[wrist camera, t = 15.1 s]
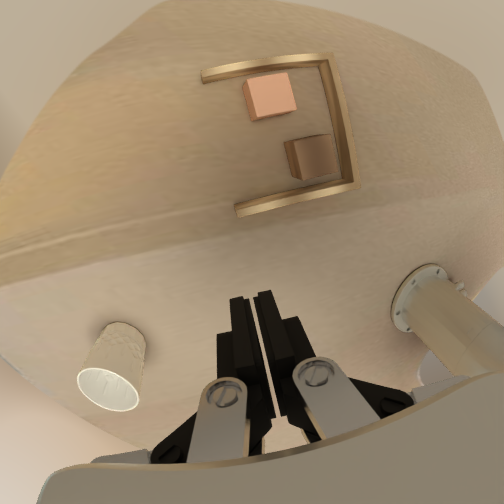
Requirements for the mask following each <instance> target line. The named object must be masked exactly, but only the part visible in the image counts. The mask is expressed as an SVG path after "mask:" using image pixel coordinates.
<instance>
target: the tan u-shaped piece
mask: <svg viewBox="0 0 504 504" xmlns="http://www.w3.org/2000/svg"><path fill="white" fill-rule="evenodd" d="M310 66H318V67H319V70H320V74H321V78H322V82H323V86H324V90H325V94H326V98H327V102H328V106H329V111H330V115H331V120H332V124H333V129H334V134H335V139H336V144H337V150H338V155H339V161H340V167H341V173H342V179H339V180H335V181H330V182H325V183H321V184H316V185H312V186H307V187H303V188H299V189H294V190H290V191H286V192H282V193H278V194H274V195H270V196H266V197H262V198H258V199H254V200H250V201H246V202H242V203H238V204H234V207H235V211H236V214H237V216H238V218H240V217H244V216H248V215H251V214H255V213H259V212H263V211H267V210H271V209H275V208H279V207H283V206H287V205H291V204H295V203H299V202H303V201H307V200H311V199H315V198H319V197H324V196H328V195H332V194H337V193H341V192H345V191H350V190H354V189H359V188H361V183H360V176H359V169H358V162H357V156H356V150H355V144H354V139H353V134H352V128H351V123H350V118H349V114H348V109H347V105H346V100H345V96H344V92H343V88H342V84H341V80H340V76H339V72H338V69H337V65H336V61H335V58H334V55H333V53H313V54H298V55H287V56H278V57H270V58H262V59H256V60H249V61H243V62H238V63H233V64H227V65H223V66H218V67H213V68H209V69H205V70H201V77H202V82H203V84H206V83H210V82H214V81H218V80H223V79H227V78H232V77H237V76H242V75H248V74H254V73H260V72H266V71H273V70H281V69H289V68H299V67H310Z"/></svg>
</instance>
